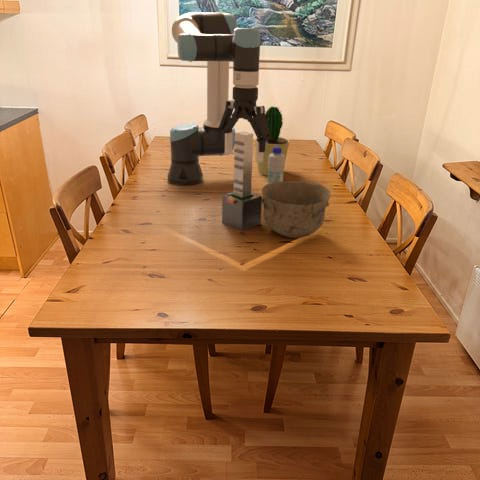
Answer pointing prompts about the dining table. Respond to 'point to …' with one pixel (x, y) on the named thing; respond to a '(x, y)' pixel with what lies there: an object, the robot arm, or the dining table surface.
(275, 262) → the dining table surface
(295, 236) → the bowl
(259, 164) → the potted cactus
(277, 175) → the bottle
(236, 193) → the column
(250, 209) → the stand base
